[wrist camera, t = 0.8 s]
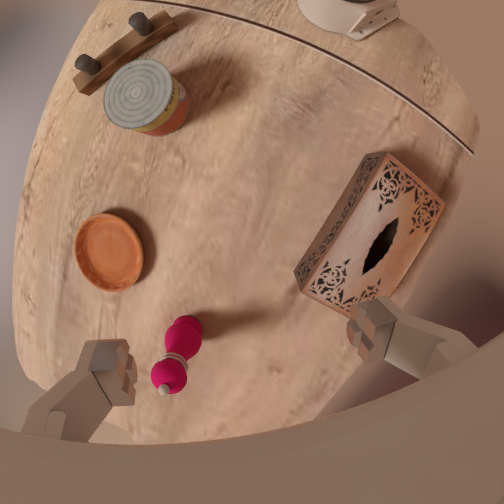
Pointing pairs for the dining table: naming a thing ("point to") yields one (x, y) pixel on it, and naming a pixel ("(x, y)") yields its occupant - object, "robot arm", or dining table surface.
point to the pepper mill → (177, 355)
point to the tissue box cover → (369, 235)
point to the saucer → (108, 252)
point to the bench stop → (123, 50)
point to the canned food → (146, 99)
